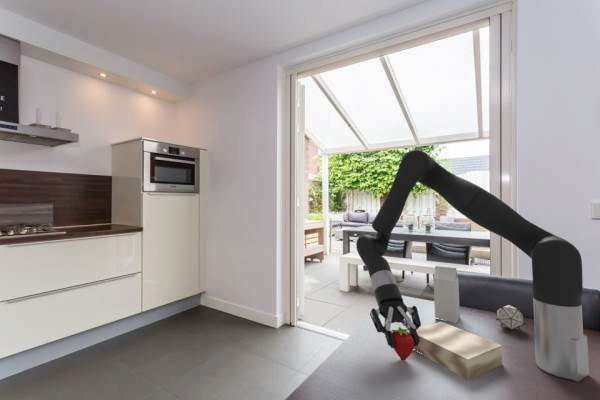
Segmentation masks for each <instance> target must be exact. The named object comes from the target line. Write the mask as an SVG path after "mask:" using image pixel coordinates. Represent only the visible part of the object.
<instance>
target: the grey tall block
mask: <svg viewBox="0 0 600 400" xmlns="http://www.w3.org/2000/svg"><path fill="white" fill-rule="evenodd" d="M433 274H434V275H433V298H434V302H433V303H434V318H435V317H436V318H439V319H443V320H446V321H445V322H447V321H450V322H449V323H452V322H454V324H457V323H458V321H459V319H460V317H461V316H460V315H461V313H460V310H461V309H460V288H459V286H460V285H459V275H458V271H457V267H450V266H441V265H435V268H434V273H433Z"/></svg>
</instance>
